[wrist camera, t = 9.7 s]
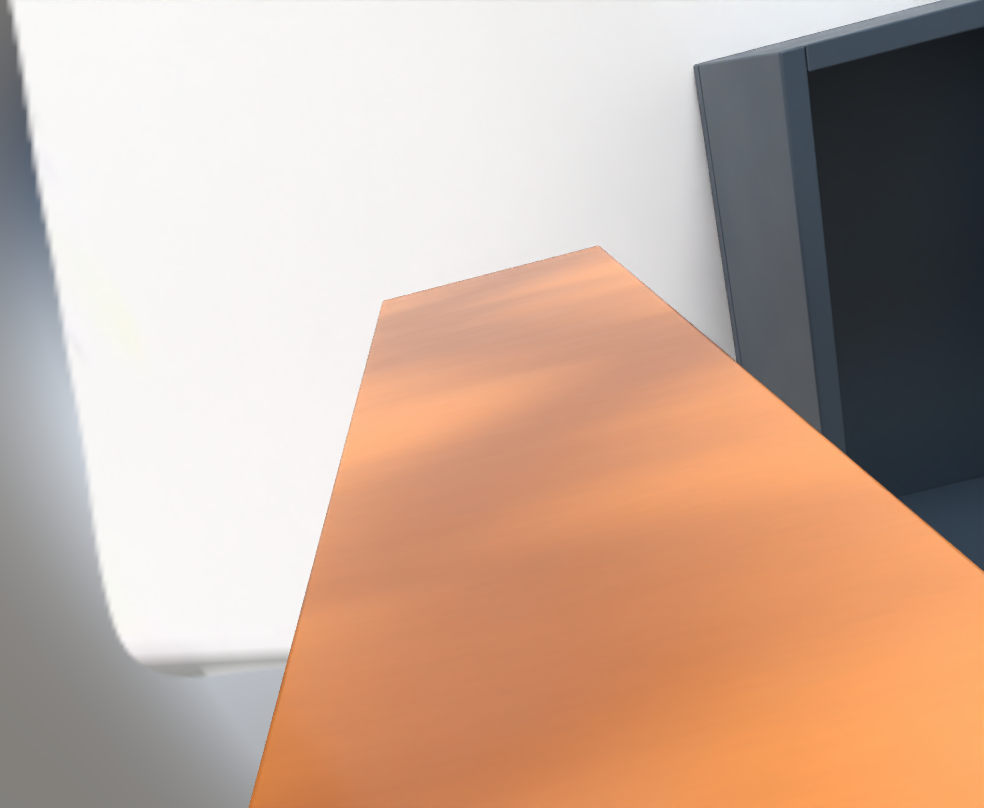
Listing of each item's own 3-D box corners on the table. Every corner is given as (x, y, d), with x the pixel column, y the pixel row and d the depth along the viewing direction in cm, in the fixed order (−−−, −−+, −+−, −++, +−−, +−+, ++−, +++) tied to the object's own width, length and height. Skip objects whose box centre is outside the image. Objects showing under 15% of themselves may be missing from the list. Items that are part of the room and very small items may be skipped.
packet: (599, 244, 17) (1543, 1032, 2) (673, 615, 20) (1279, 1906, 6) (381, 300, 17) (93, 1369, 3) (489, 660, 20) (624, 2045, 6)
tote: (1068, -33, 24) (1283, -80, 18) (1067, 461, 30) (1232, 553, 24) (692, 65, 24) (779, 51, 18) (762, 537, 30) (846, 647, 24)
